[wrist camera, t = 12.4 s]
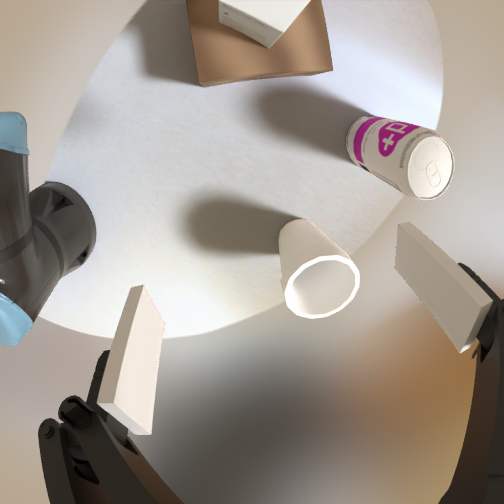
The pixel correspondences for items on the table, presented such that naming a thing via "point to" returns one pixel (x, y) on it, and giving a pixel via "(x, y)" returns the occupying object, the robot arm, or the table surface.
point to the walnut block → (257, 47)
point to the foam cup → (314, 271)
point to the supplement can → (402, 155)
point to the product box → (260, 17)
